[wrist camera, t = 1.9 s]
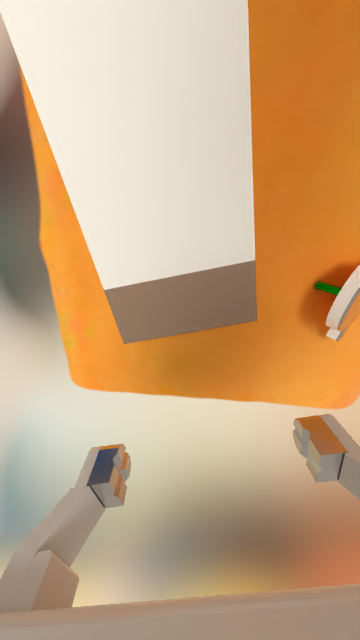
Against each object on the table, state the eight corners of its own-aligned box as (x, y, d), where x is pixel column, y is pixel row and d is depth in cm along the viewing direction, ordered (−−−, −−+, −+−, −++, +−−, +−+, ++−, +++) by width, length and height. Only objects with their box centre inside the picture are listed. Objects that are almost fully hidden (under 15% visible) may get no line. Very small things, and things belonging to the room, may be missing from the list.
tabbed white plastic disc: (343, 336, 35) (358, 364, 26) (295, 319, 38) (293, 339, 29) (400, 249, 29) (447, 245, 19) (337, 237, 32) (352, 229, 23)
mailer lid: (12, 4, 15) (-18, -36, 13) (233, -66, 14) (244, -125, 12) (128, 334, 28) (124, 343, 26) (250, 312, 27) (257, 320, 25)
